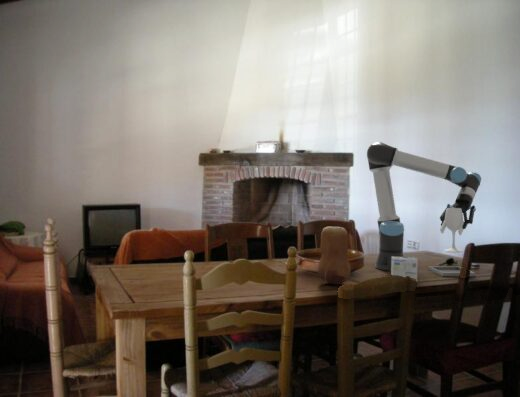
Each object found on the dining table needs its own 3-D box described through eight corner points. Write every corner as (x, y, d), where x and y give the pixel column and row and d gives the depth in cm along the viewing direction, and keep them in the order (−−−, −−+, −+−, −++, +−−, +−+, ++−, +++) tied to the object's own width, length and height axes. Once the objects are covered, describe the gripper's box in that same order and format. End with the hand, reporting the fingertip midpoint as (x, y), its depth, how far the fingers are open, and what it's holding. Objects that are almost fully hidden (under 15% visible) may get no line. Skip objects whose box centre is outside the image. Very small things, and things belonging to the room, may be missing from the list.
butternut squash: (340, 279, 219) (341, 224, 217) (355, 286, 206) (357, 227, 205) (312, 281, 214) (313, 224, 213) (326, 288, 201) (328, 228, 200)
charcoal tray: (442, 276, 230) (442, 272, 230) (428, 269, 246) (428, 266, 246) (475, 276, 231) (475, 272, 231) (458, 269, 247) (458, 266, 247)
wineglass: (440, 250, 240) (440, 208, 239) (453, 249, 244) (454, 207, 243) (453, 253, 232) (453, 209, 231) (467, 252, 236) (467, 208, 235)
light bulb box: (414, 280, 221) (415, 256, 220) (417, 283, 214) (418, 259, 214) (390, 279, 222) (390, 255, 221) (392, 282, 215) (393, 258, 215)
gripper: (488, 204, 240) (474, 239, 230) (447, 202, 255) (432, 235, 245) (485, 193, 236) (470, 229, 226) (442, 192, 251) (427, 225, 241)
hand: (450, 232), depth 235 cm, fingers closed on wineglass, 8 cm apart
